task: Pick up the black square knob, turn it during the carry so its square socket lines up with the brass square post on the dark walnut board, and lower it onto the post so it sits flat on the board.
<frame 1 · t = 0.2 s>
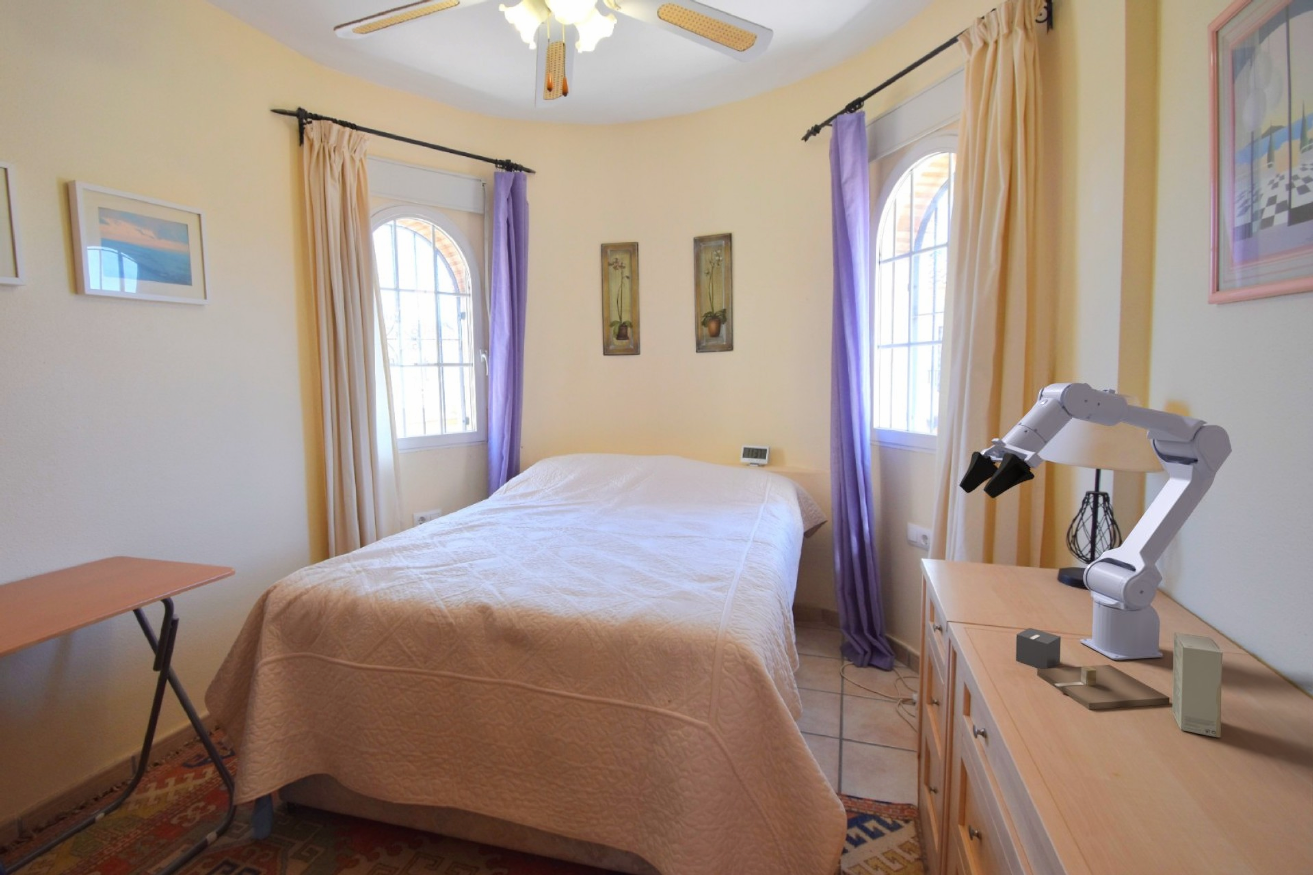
hand: (975, 491, 105), 30 cm above the dresser, tool tilted 45°, fingers open, 7 cm apart
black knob: (1037, 661, 105), on the dresser
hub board: (1099, 688, 96), on the dresser
skincare box: (1194, 725, 85), on the dresser
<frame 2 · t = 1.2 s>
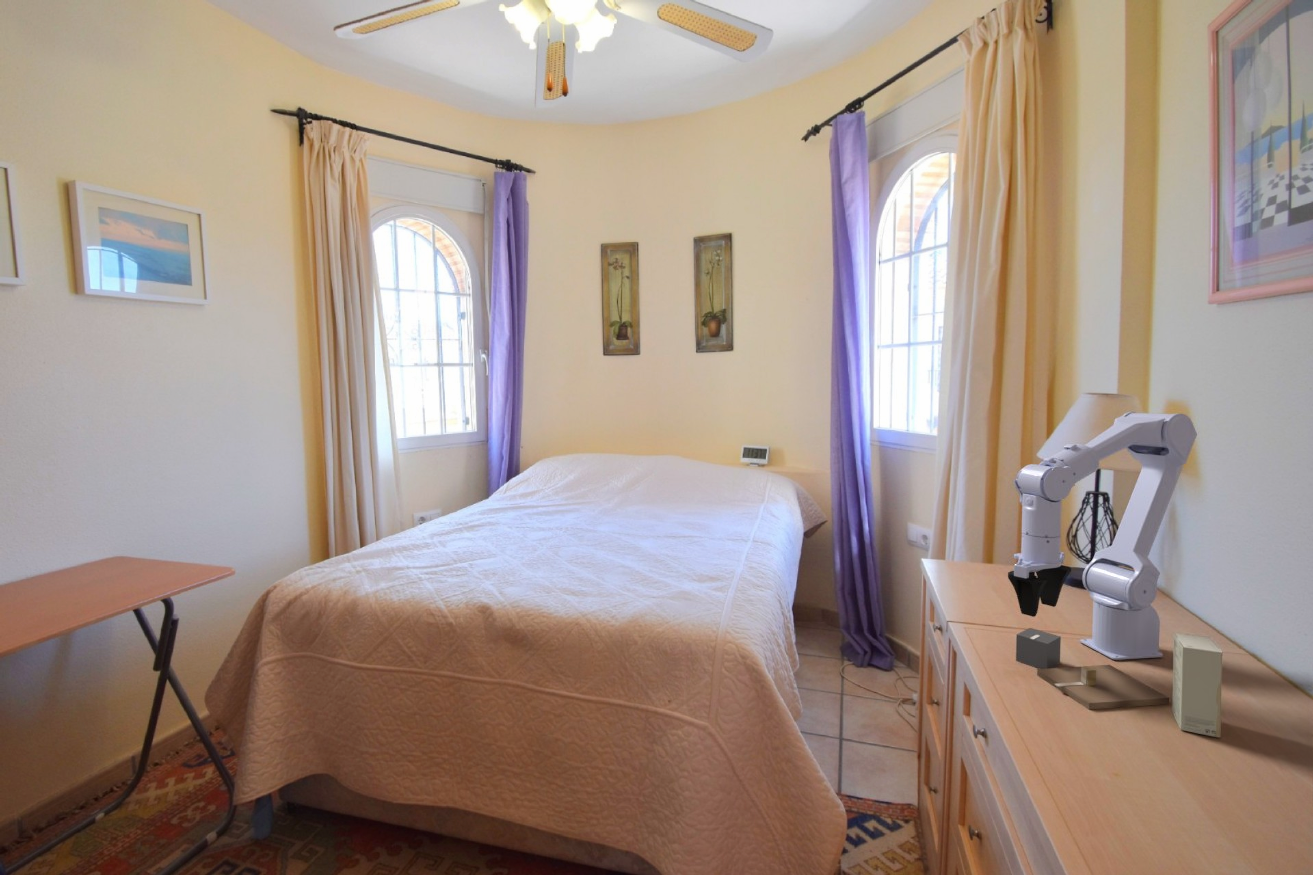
hand: (1038, 609, 105), 9 cm above the dresser, tool pointing down, fingers open, 7 cm apart
nothing on the dresser moved.
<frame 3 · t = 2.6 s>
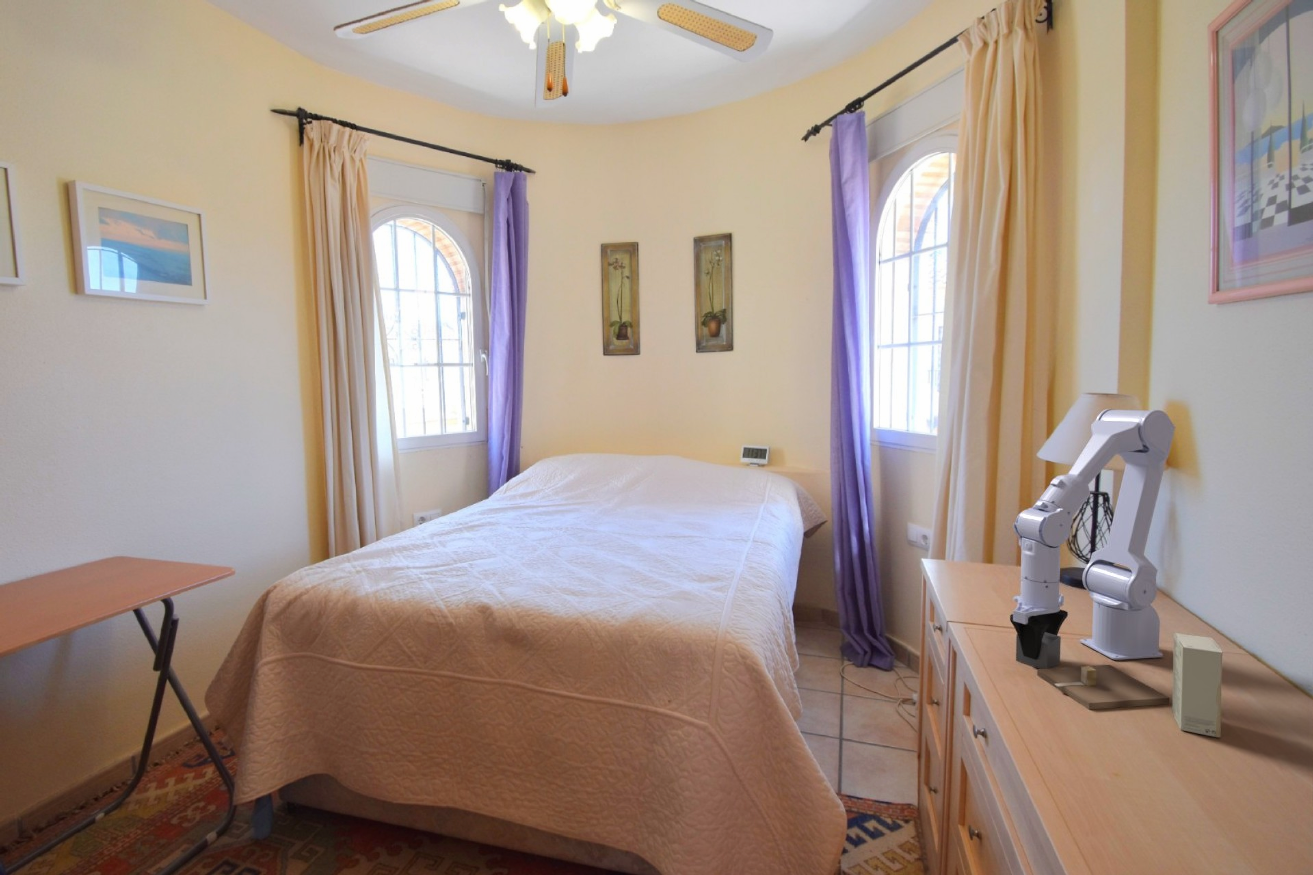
hand: (1038, 652, 105), 2 cm above the dresser, tool pointing down, fingers closed on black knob, 5 cm apart
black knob: (1037, 661, 105), on the dresser, touching gripper
everything else where it was.
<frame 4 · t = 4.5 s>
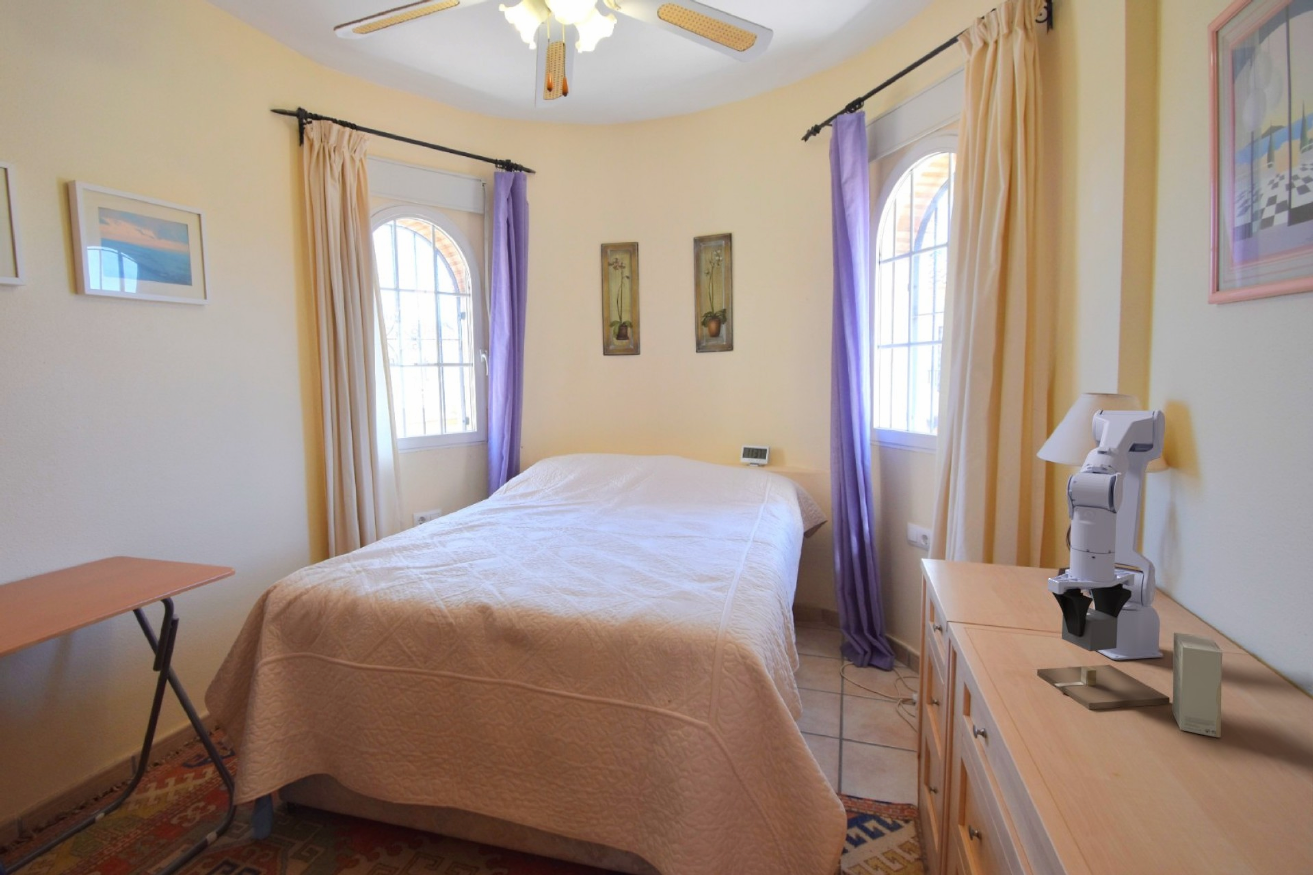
hand: (1089, 632, 95), 9 cm above the dresser, tool pointing down, fingers closed on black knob, 5 cm apart
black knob: (1088, 643, 95), point 8 cm above the dresser, touching gripper
everything else where it was.
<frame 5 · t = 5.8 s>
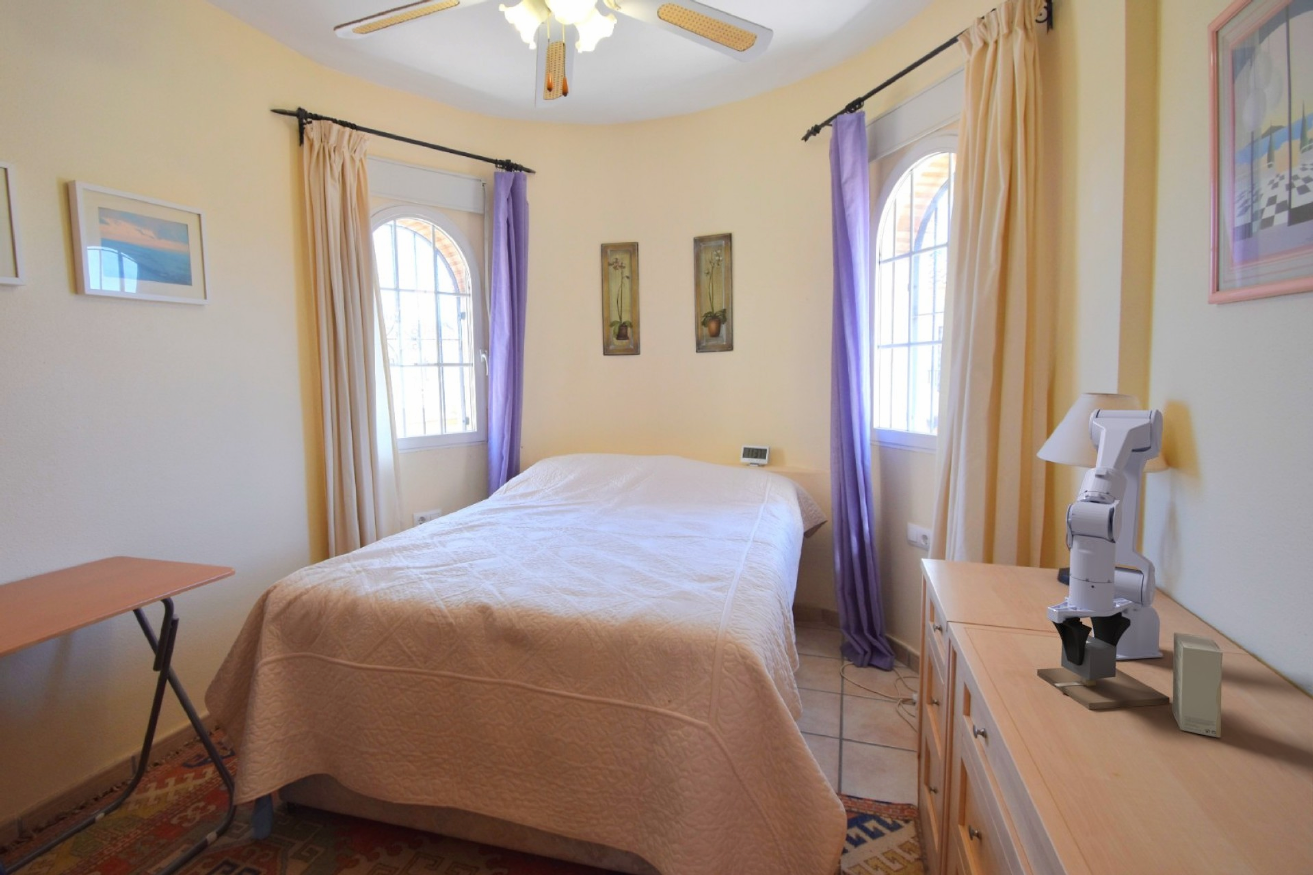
hand: (1088, 660, 95), 5 cm above the dresser, tool pointing down, fingers closed on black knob, 5 cm apart
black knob: (1087, 671, 95), point 3 cm above the dresser, touching gripper
everything else where it was.
when the fingers open (3 cm above the dresser, at t = 6.7 s): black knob stays where it is, resting on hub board.
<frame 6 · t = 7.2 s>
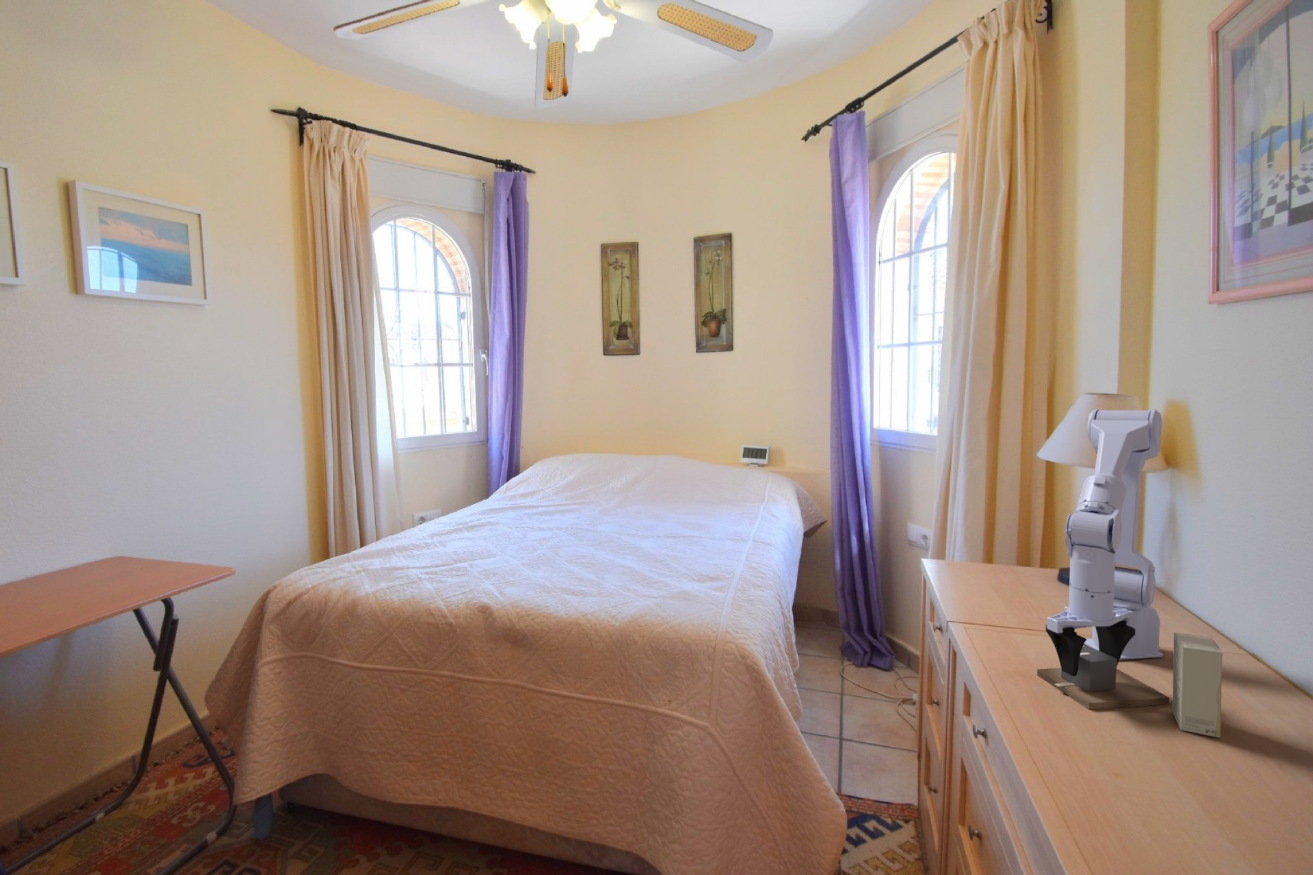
hand: (1088, 670, 95), 3 cm above the dresser, tool pointing down, fingers open, 7 cm apart
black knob: (1087, 682, 96), point 1 cm above the dresser, touching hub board
everything else where it was.
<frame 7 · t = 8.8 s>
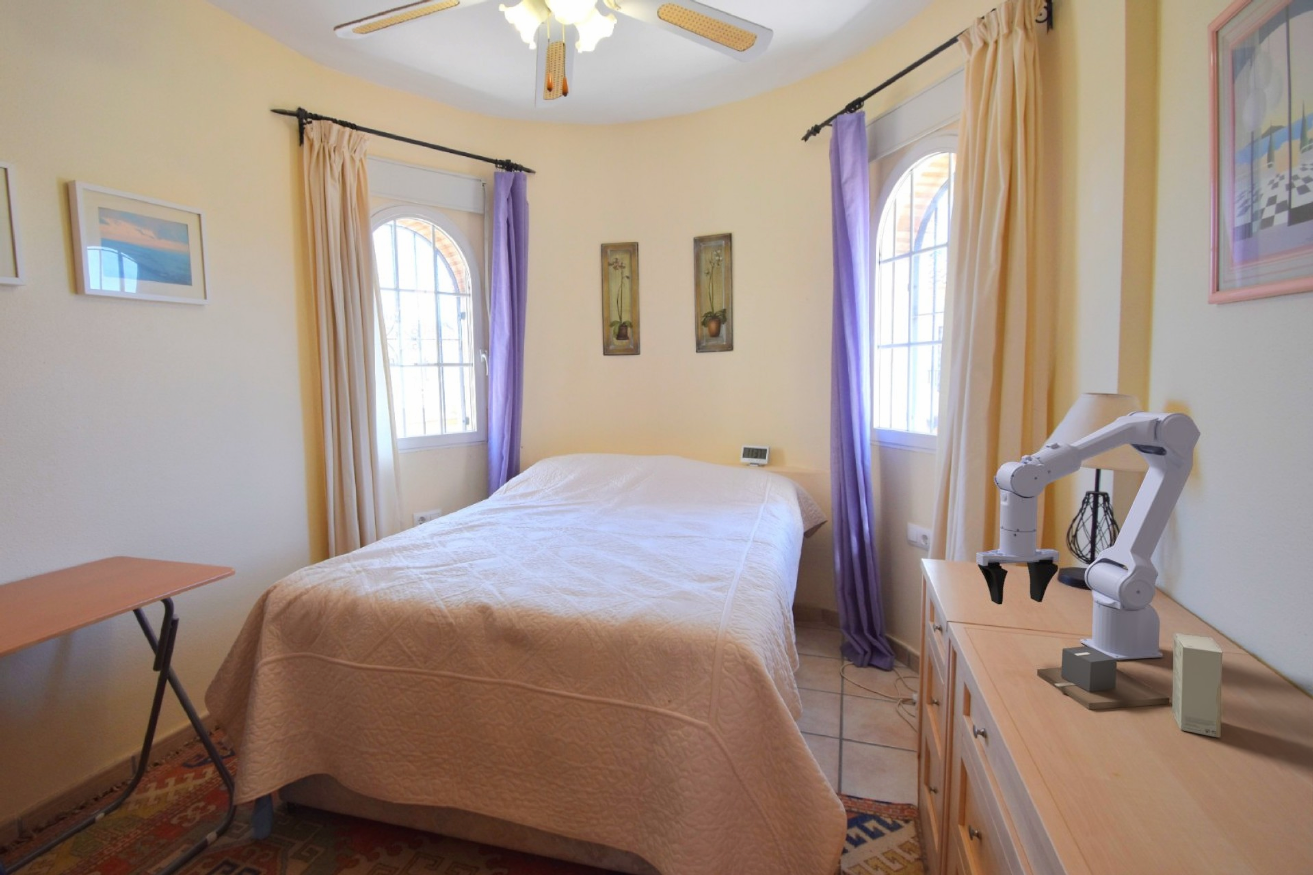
hand: (1016, 601, 109), 9 cm above the dresser, tool pointing down, fingers open, 7 cm apart
nothing on the dresser moved.
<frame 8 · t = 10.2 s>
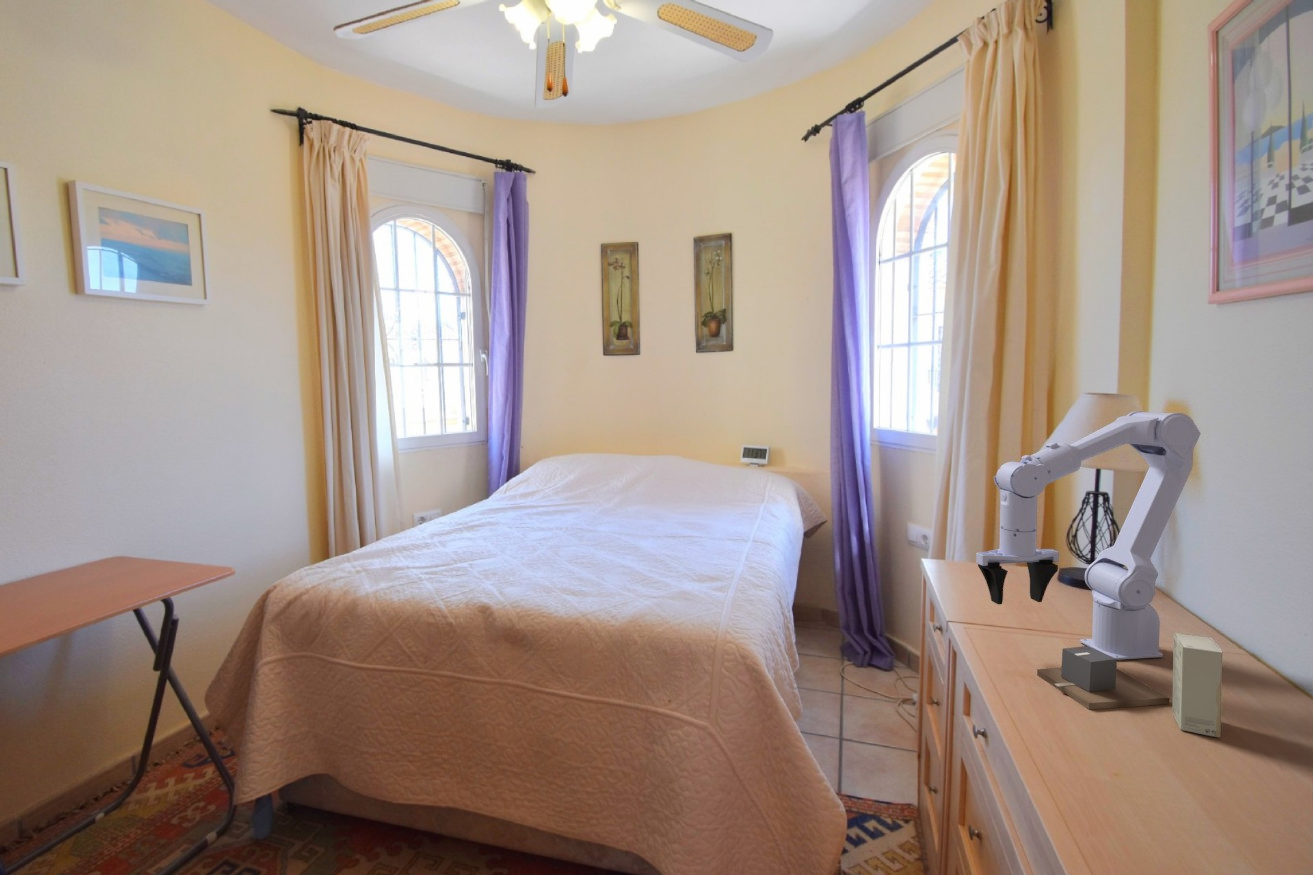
hand: (1016, 601, 109), 9 cm above the dresser, tool pointing down, fingers open, 7 cm apart
nothing on the dresser moved.
at the end: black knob 0.1 cm from the target spot on the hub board, point 1.1 cm above the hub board's base; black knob tilted 2°; the gripper is holding nothing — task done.
